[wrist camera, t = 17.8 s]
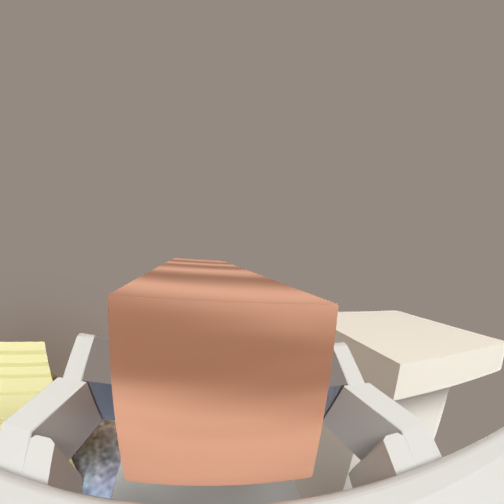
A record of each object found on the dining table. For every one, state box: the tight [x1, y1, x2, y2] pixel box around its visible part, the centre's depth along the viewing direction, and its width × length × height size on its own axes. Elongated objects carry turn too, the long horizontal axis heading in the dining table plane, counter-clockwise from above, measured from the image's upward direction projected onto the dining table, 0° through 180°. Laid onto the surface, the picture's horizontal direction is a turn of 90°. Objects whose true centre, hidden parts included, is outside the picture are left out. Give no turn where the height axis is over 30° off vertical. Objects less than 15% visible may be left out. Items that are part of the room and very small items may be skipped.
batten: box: [108, 258, 338, 486], centre depth 18 cm, size 24×4×4 cm, turn 11°
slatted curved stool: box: [0, 342, 76, 469], centre depth 32 cm, size 30×16×18 cm, turn 42°
